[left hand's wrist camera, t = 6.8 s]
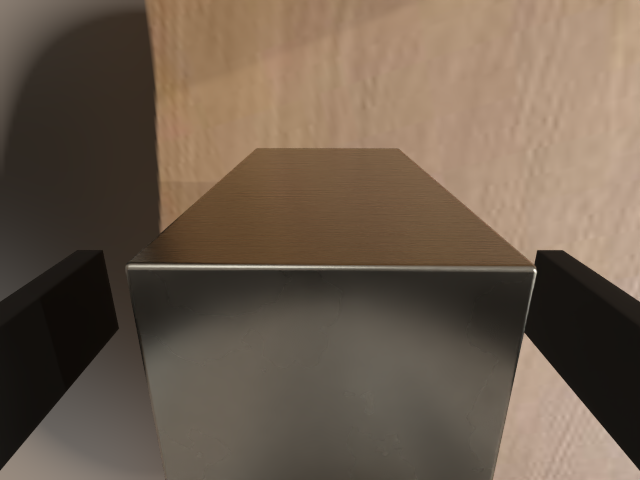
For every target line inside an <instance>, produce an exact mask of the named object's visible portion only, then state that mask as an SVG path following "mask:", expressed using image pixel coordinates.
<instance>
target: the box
mask: <svg viewBox="0 0 640 480" xmlns="http://www.w3.org/2000/svg"><path fill="white" fill-rule="evenodd" d="M125 270H126V275H127V281H128V286H129V291H130V297H131V302H132V307H133V312H134V317H135V323H136V328H137V333H138V338H139V344H140V349H141V354H142V359H143V365H144V370H145V375H146V380H147V385H148V391H149V396H150V401H151V406H152V412H153V417H154V422H155V428H156V433H157V438H158V443H159V448H160V454H161V459H162V464H163V469H164V475H165V480H493V476H494V471H495V466H496V462H497V457H498V452H499V448H500V443H501V438H502V433H503V429H504V424H505V419H506V415H507V410H508V405H509V400H510V396H511V391H512V386H513V382H514V377H515V372H516V368H517V363H518V358H519V353H520V349H521V344H522V339H523V335H524V330H525V325H526V321H527V316H528V311H529V306H530V302H531V297H532V292H533V288H534V283H535V278H536V274H537V270H536V266H535V265H534V264H533V263H532V262H530V261H529V260H528V259H527V258H526V257H525V256H523V255H522V254H521V253H520V252H519V251H518V250H516V249H515V248H514V247H513V246H512V245H511V244H509V243H508V242H507V241H506V240H505V239H504V238H502V237H501V236H500V235H499V234H498V233H497V232H495V231H494V230H493V229H492V228H491V227H490V226H488V225H487V224H486V223H485V222H484V221H482V220H481V219H480V218H479V217H478V216H477V215H475V214H474V213H473V212H472V211H471V210H470V209H468V208H467V207H466V206H465V205H464V204H463V203H461V202H460V201H459V200H458V199H457V198H456V197H454V196H453V195H452V194H451V193H450V192H449V191H447V190H446V189H445V188H444V187H443V186H442V185H440V184H439V183H438V182H437V181H436V180H435V179H433V178H432V177H431V176H430V175H429V174H428V173H426V172H425V171H424V170H423V169H422V168H420V167H419V166H418V165H417V164H416V163H415V162H413V161H412V160H411V159H410V158H409V157H408V156H406V155H405V154H404V153H403V152H402V151H401V150H399V149H382V148H257V149H255V150H254V151H253V152H252V153H251V154H250V155H248V156H247V157H246V158H245V159H244V160H243V161H242V162H241V163H239V164H238V165H237V166H236V167H235V168H234V169H233V170H232V171H230V172H229V173H228V174H227V175H226V176H225V177H224V178H223V179H221V180H220V181H219V182H218V183H217V184H216V185H215V186H214V187H212V188H211V189H210V190H209V191H208V192H207V193H206V194H204V195H203V196H202V197H201V198H200V199H199V200H198V201H197V202H195V203H194V204H193V205H192V206H191V207H190V208H189V209H188V210H186V211H185V212H184V213H183V214H182V215H181V216H180V217H179V218H177V219H176V220H175V221H174V222H173V223H172V224H171V225H170V226H168V227H167V228H166V229H165V230H164V231H163V232H162V233H161V234H159V235H158V236H157V237H156V238H155V239H154V240H153V241H151V242H150V243H149V244H148V245H147V246H146V247H145V248H144V249H143V250H141V251H140V252H139V253H138V254H137V255H136V256H135V257H133V258H132V259H131V260H130V261H129V262H128V263H127V264H126V269H125Z"/></svg>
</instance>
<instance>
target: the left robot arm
mask: <svg viewBox="0 0 640 480" xmlns="http://www.w3.org/2000/svg"><path fill="white" fill-rule="evenodd" d="M534 265H535V266H536V270H537V274H536V278H535V283H534V288H533V292H532V297H531V302H530V306H529V311H528V316H527V321H526V325H525V330H524V333H525V334H526V335H527V336H528V337H529V339H530V340H531V341H532V342H533V343H534V345H535V346H536V347H537V348H538V349H539V351H540V352H541V353H542V354H543V355H544V357H545V358H546V359H547V360H548V361H549V363H550V364H551V365H552V366H553V367H554V368H555V370H556V371H557V372H558V373H559V374H560V376H561V377H562V378H563V379H564V380H565V382H566V383H567V384H568V385H569V386H570V388H571V389H572V390H573V391H574V392H575V394H576V395H577V396H578V397H579V398H580V400H581V401H582V402H583V403H584V404H585V406H586V407H587V408H588V409H589V410H590V412H591V413H592V414H593V415H594V416H595V418H596V419H597V420H598V421H599V422H600V424H601V425H602V426H603V427H604V428H605V430H606V431H607V432H608V433H609V434H610V435H611V437H612V438H613V439H614V440H615V441H616V443H617V444H618V445H619V446H620V447H621V449H622V450H623V451H624V452H625V453H626V455H627V456H628V457H629V458H630V459H631V461H632V462H633V463H634V464H635V465H636V467H637V468H638V469H639V470H640V302H639V301H638V300H636V299H635V298H633V297H632V296H630V295H629V294H627V293H626V292H624V291H623V290H621V289H620V288H618V287H617V286H615V285H614V284H612V283H611V282H609V281H608V280H606V279H605V278H603V277H602V276H600V275H599V274H597V273H596V272H594V271H593V270H591V269H590V268H588V267H587V266H585V265H584V264H582V263H581V262H579V261H578V260H576V259H575V258H573V257H572V256H570V255H569V254H567V253H566V252H564V251H563V250H537V254H536V259H535V264H534ZM118 329H119V327H118V322H117V317H116V312H115V308H114V303H113V298H112V293H111V288H110V283H109V279H108V274H107V269H106V264H105V259H104V254H103V251H102V250H77V251H76V252H74V253H73V254H71V255H70V256H68V257H67V258H65V259H64V260H62V261H61V262H59V263H58V264H56V265H55V266H53V267H52V268H50V269H49V270H47V271H46V272H44V273H43V274H41V275H40V276H38V277H37V278H35V279H34V280H32V281H31V282H29V283H28V284H26V285H25V286H23V287H22V288H20V289H19V290H17V291H16V292H14V293H13V294H11V295H10V296H8V297H7V298H5V299H4V300H2V301H1V302H0V470H1V469H2V468H3V467H4V465H5V464H6V463H7V462H8V461H9V459H10V458H11V457H12V456H13V455H14V453H15V452H16V451H17V450H18V449H19V447H20V446H21V445H22V444H23V443H24V441H25V440H26V439H27V438H28V437H29V435H30V434H31V433H32V432H33V431H34V430H35V428H36V427H37V426H38V425H39V423H40V422H41V421H42V420H43V419H44V418H45V416H46V415H47V414H48V413H49V412H50V410H51V409H52V408H53V407H54V406H55V404H56V403H57V402H58V401H59V400H60V398H61V397H62V396H63V395H64V394H65V392H66V391H67V390H68V389H69V388H70V386H71V385H72V384H73V383H74V382H75V380H76V379H77V378H78V377H79V376H80V374H81V373H82V372H83V371H84V370H85V368H86V367H87V366H88V365H89V364H90V363H91V361H92V360H93V359H94V358H95V357H96V355H97V354H98V353H99V352H100V350H101V349H102V348H103V347H104V346H105V345H106V343H107V342H108V341H109V340H110V339H111V337H112V336H113V335H114V334H115V333H116V331H117V330H118Z"/></svg>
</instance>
